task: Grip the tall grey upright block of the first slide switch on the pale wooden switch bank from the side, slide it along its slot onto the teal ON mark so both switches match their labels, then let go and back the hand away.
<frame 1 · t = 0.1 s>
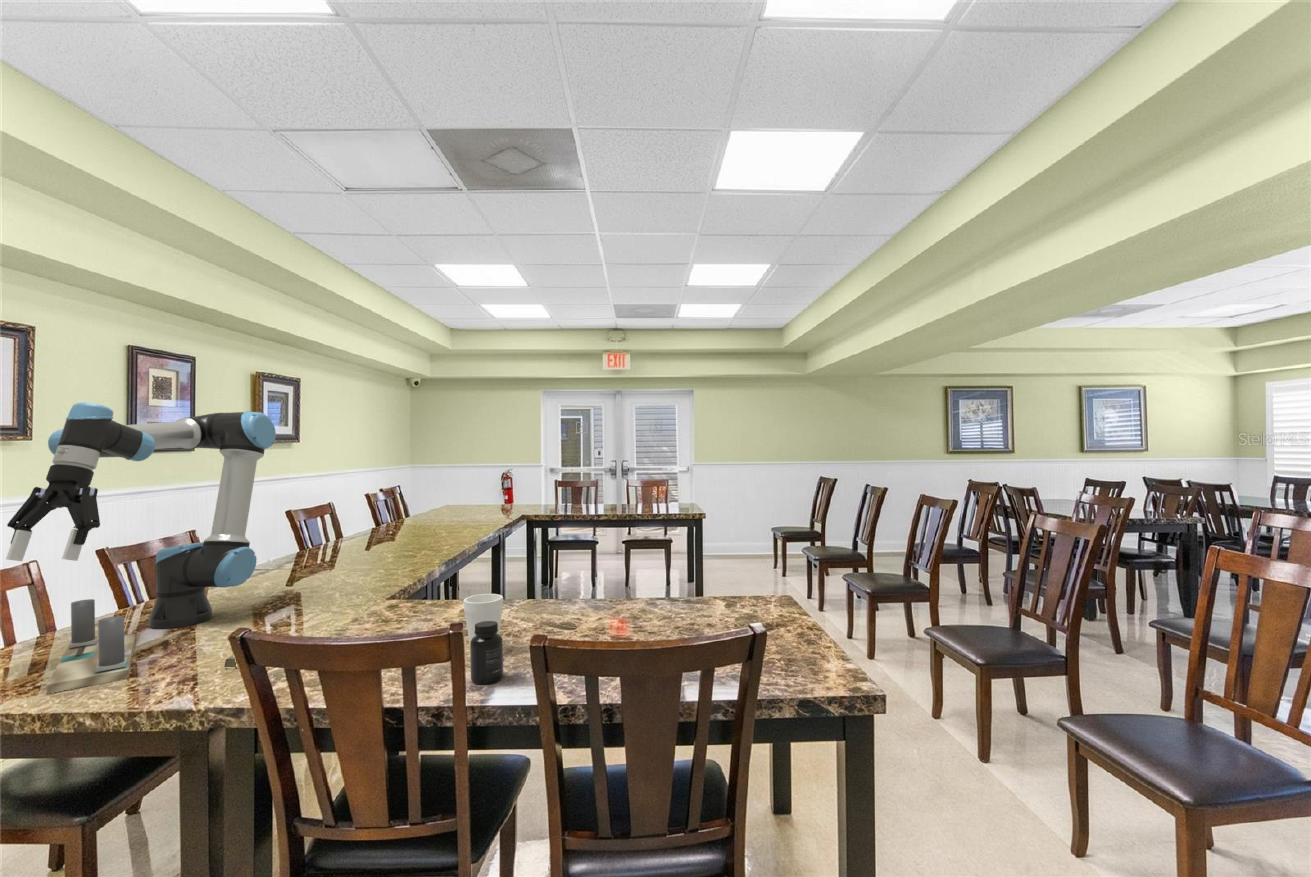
hand: (41, 560, 133), 28 cm above the table, tool tilted 20°, fingers open, 13 cm apart
supplement bottle: (487, 680, 131), on the table
grey upright block 1: (83, 622, 155), point 8 cm above the table, slide at 0.0 cm
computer: (261, 659, 149), on the table
switch bank: (96, 664, 146), on the table
foam cup: (484, 651, 149), on the table
grey tall block 2: (111, 642, 137), point 8 cm above the table, slide at 12.0 cm
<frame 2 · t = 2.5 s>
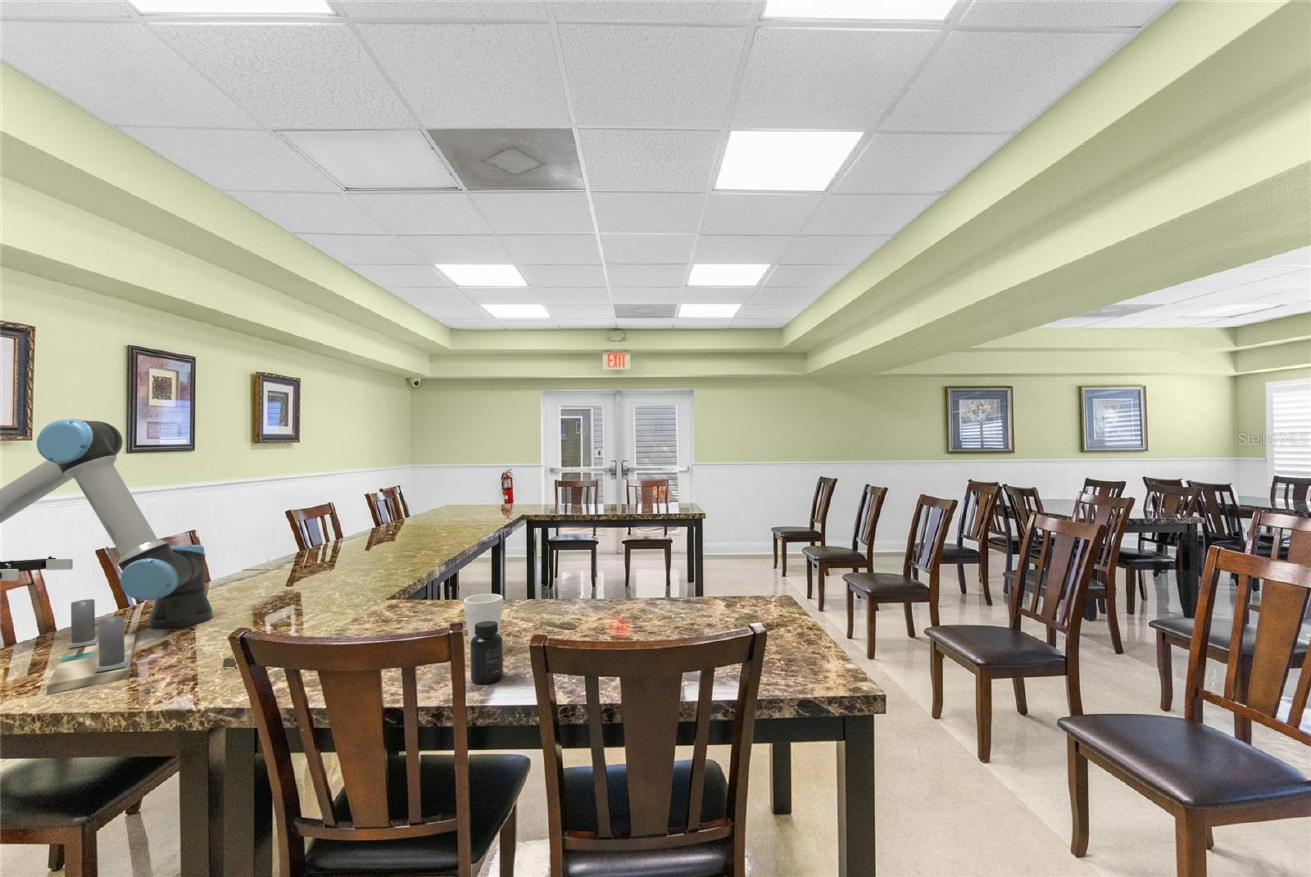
hand: (45, 569, 155), 22 cm above the table, tool horizontal, fingers open, 13 cm apart
nothing on the table moved.
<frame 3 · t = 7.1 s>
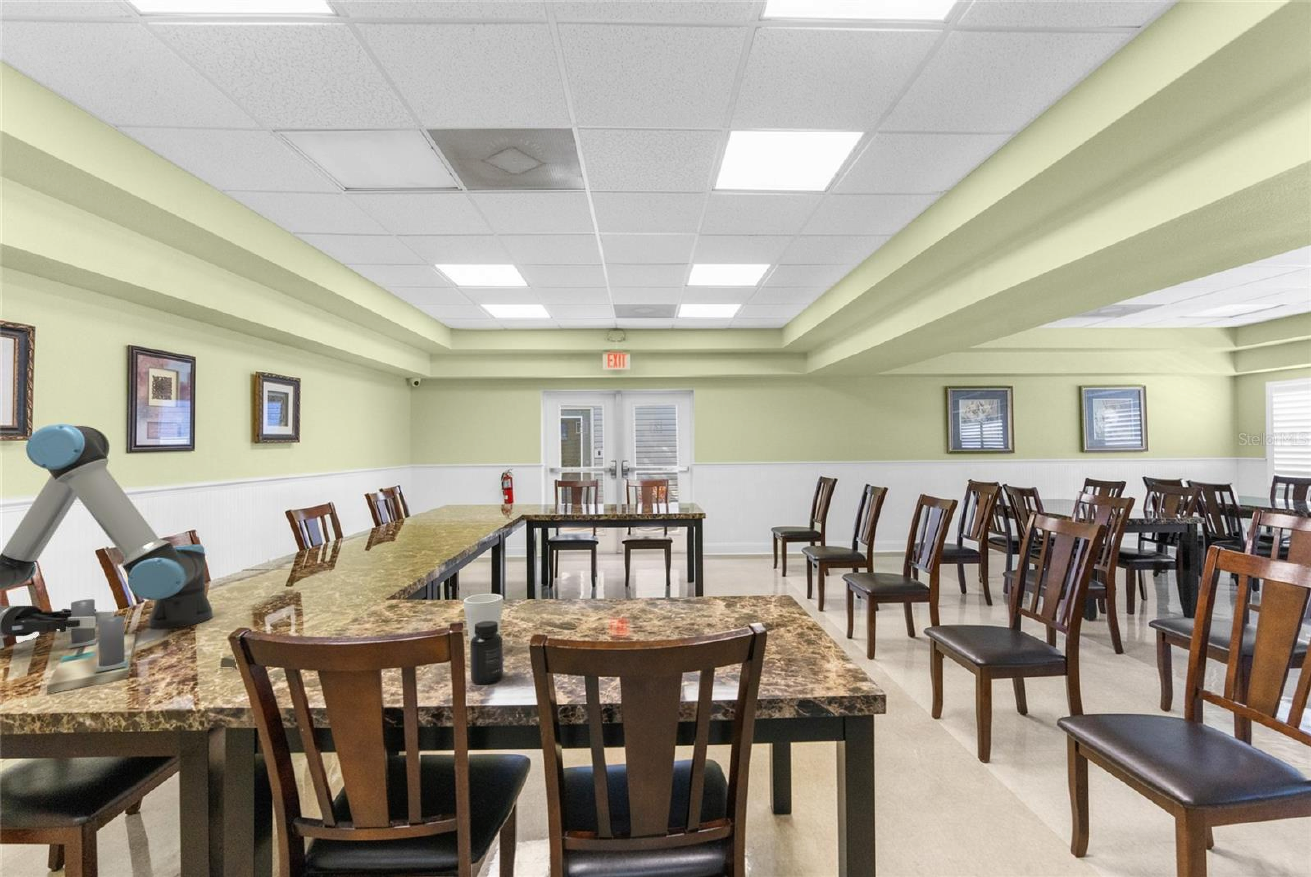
hand: (103, 619, 155), 8 cm above the table, tool horizontal, fingers closed on grey upright block 1, 4 cm apart
grey upright block 1: (83, 622, 155), point 8 cm above the table, slide at 0.0 cm, touching gripper
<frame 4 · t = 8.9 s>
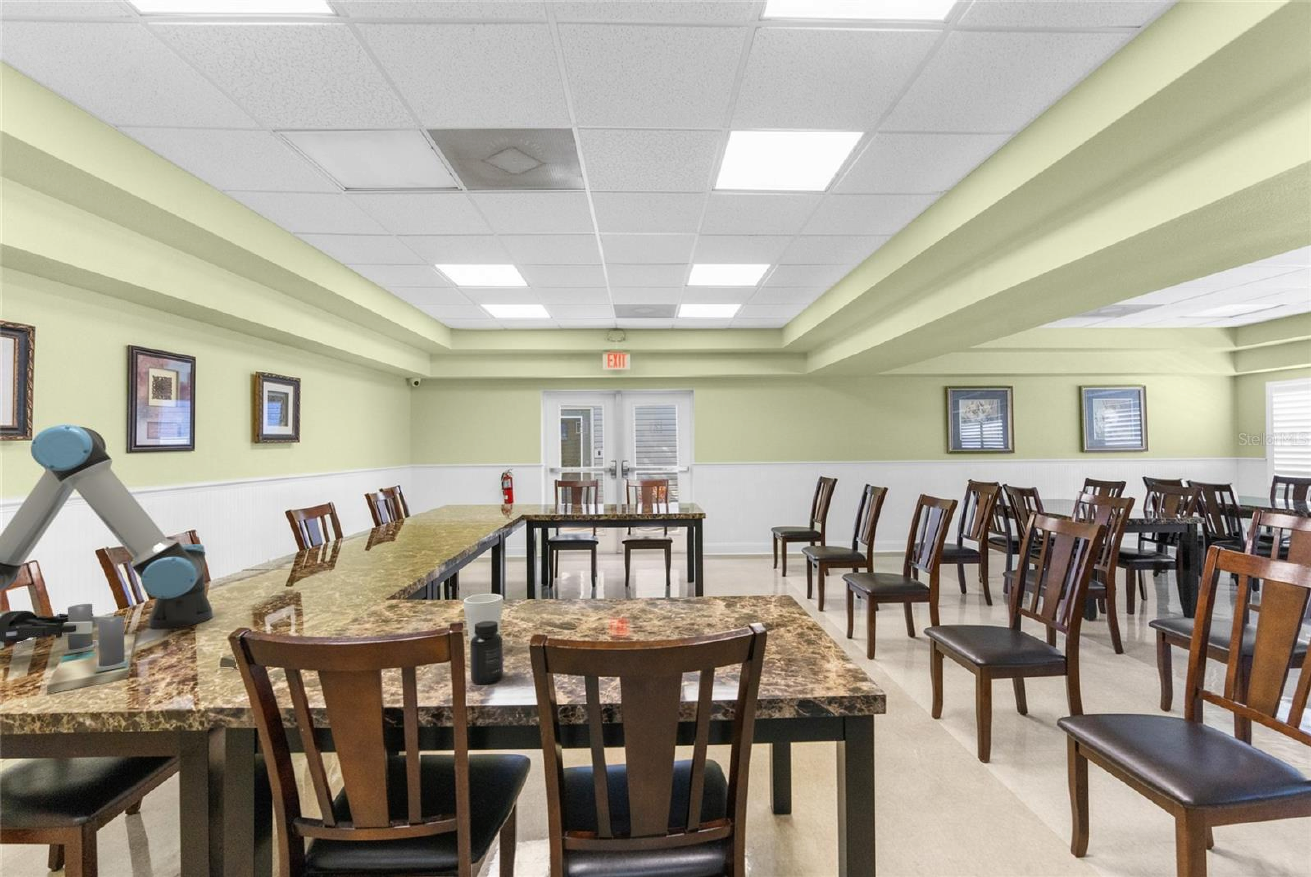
hand: (100, 624, 150), 9 cm above the table, tool horizontal, fingers closed on grey upright block 1, 4 cm apart
grey upright block 1: (80, 627, 150), point 8 cm above the table, slide at 6.3 cm, touching gripper
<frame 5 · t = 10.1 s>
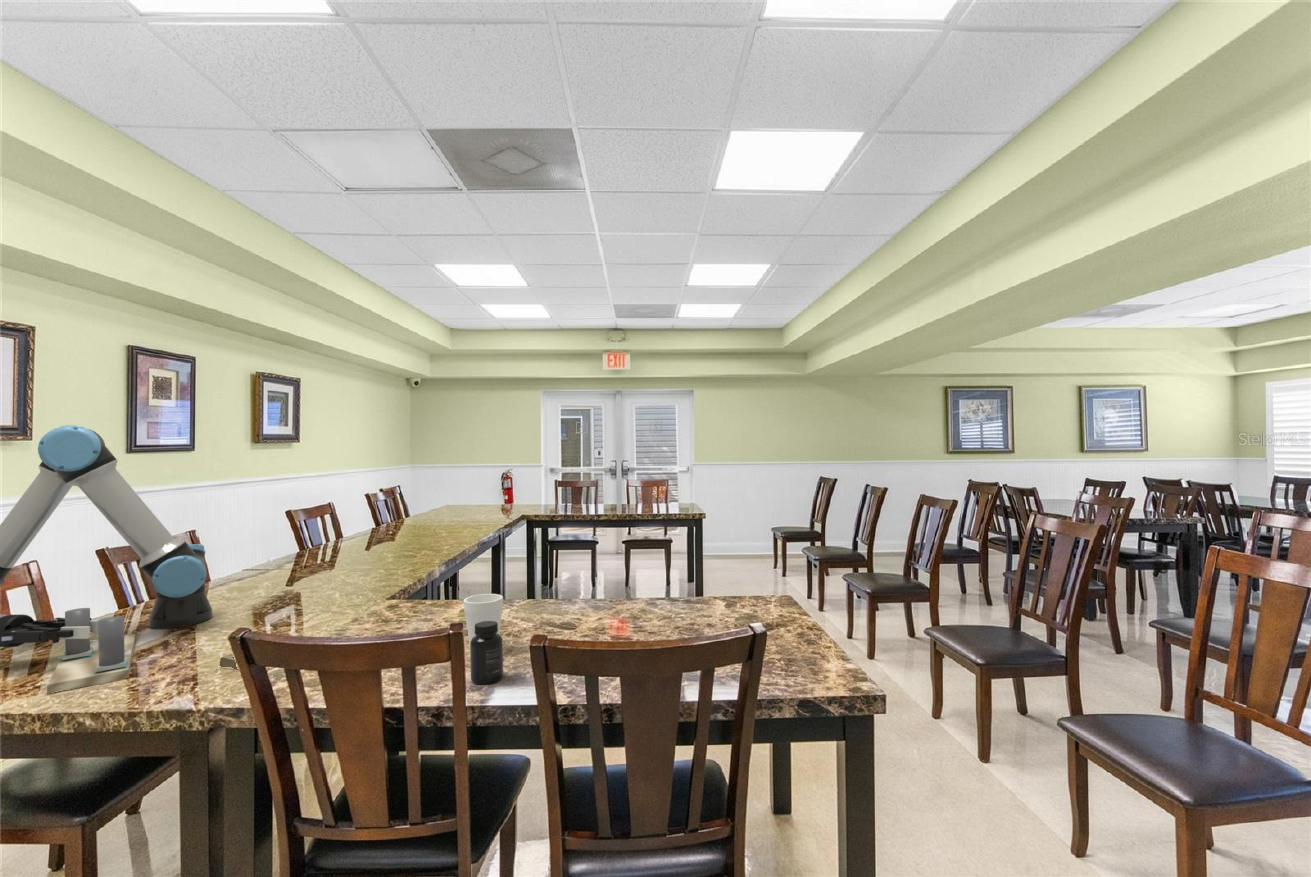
hand: (98, 629, 146), 9 cm above the table, tool horizontal, fingers closed on grey upright block 1, 4 cm apart
grey upright block 1: (77, 632, 146), point 8 cm above the table, slide at 11.5 cm, touching gripper
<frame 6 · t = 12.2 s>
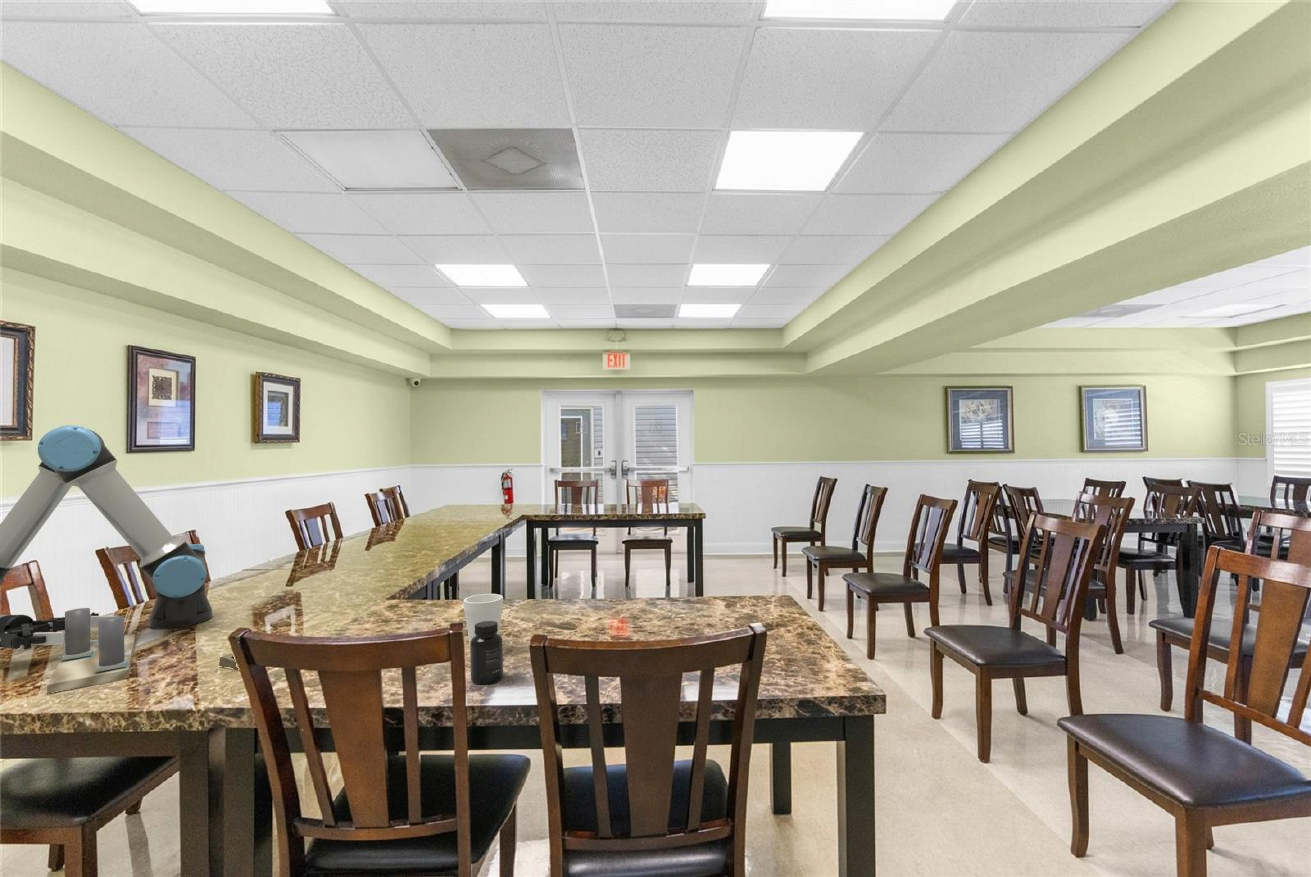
hand: (90, 629, 146), 9 cm above the table, tool horizontal, fingers open, 13 cm apart
grey upright block 1: (77, 632, 146), point 8 cm above the table, slide at 11.6 cm
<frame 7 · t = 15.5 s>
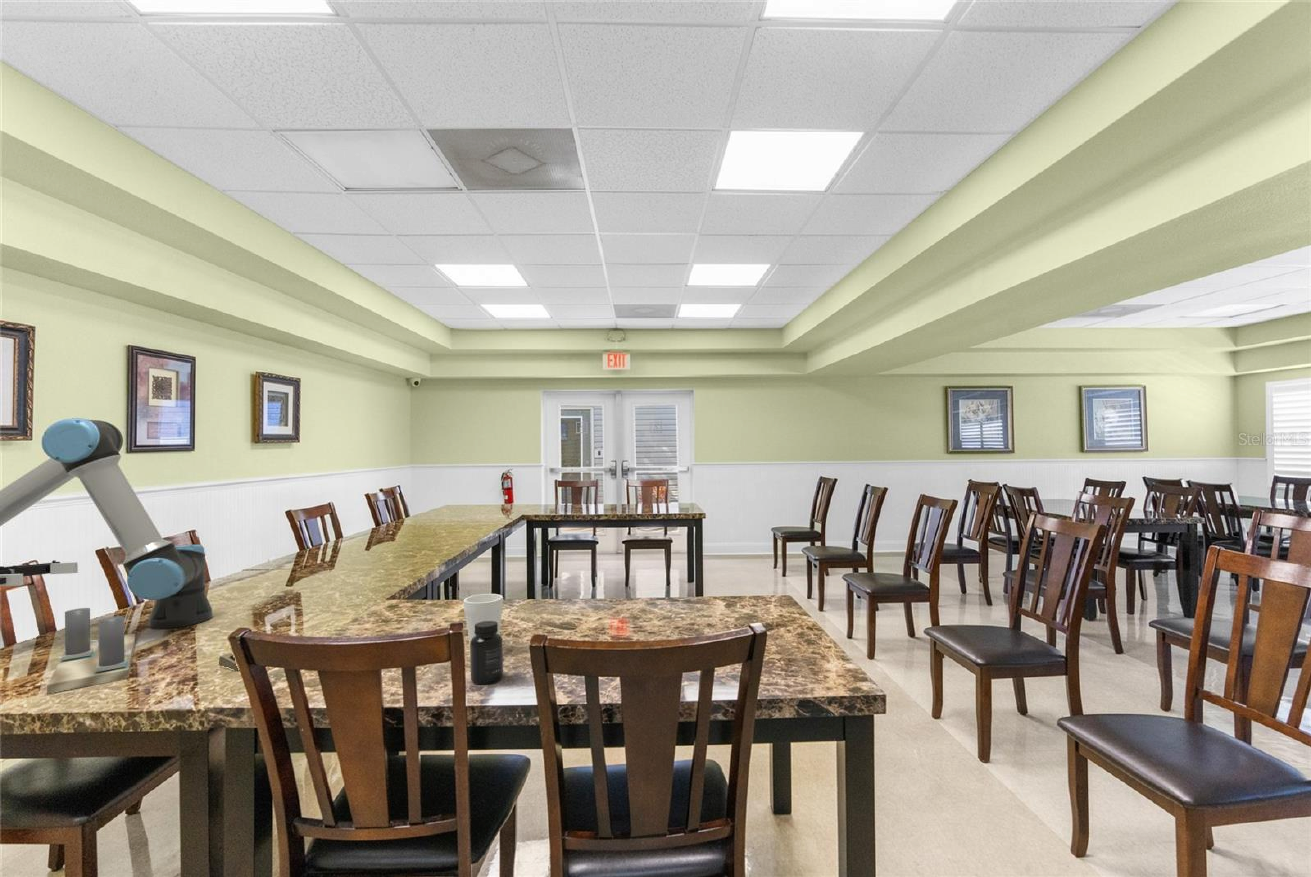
hand: (50, 573, 152), 21 cm above the table, tool horizontal, fingers open, 13 cm apart
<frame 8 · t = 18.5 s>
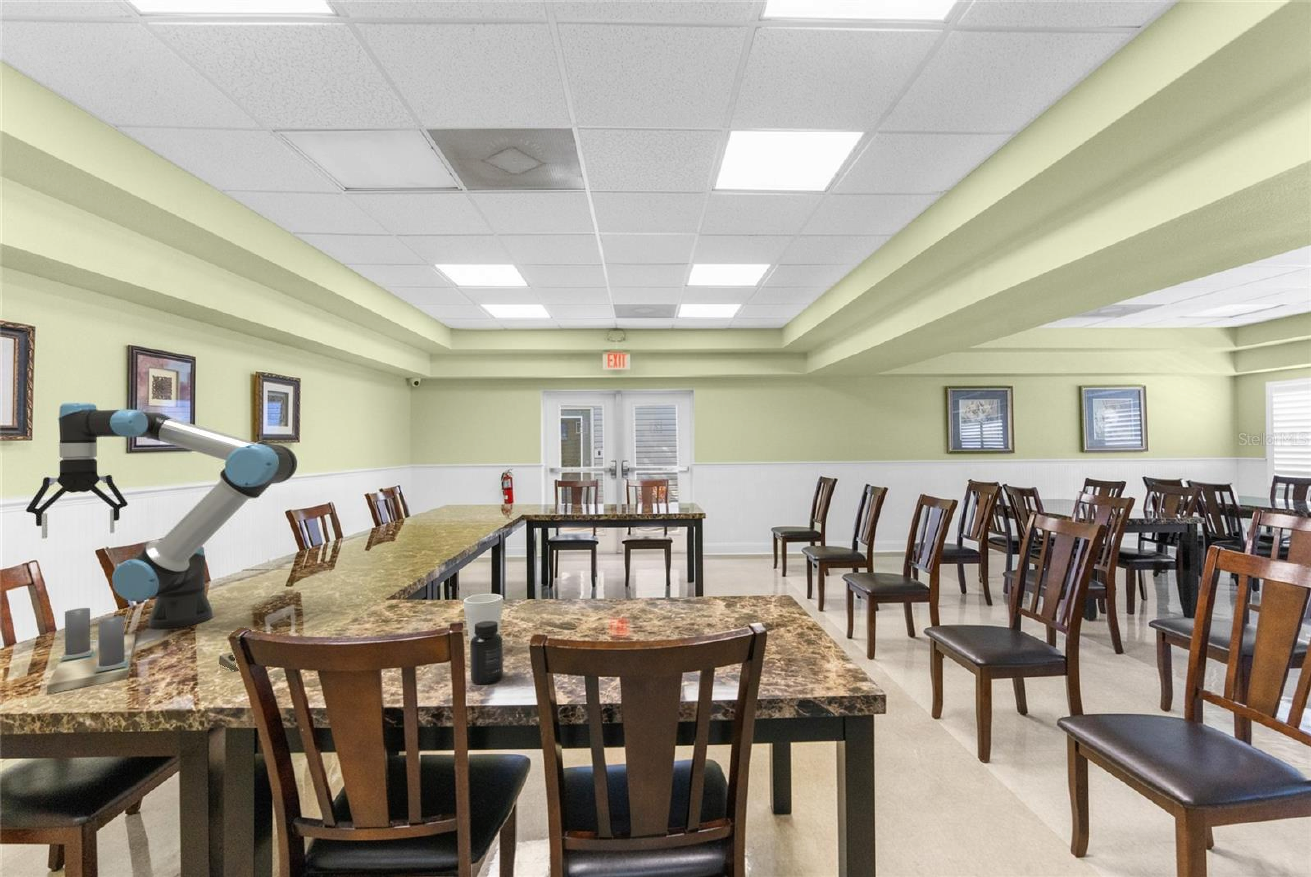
hand: (79, 535, 167), 29 cm above the table, tool pointing down, fingers open, 13 cm apart
at the end: grey upright block 1 slide at 11.6 cm; grey tall block 2 slide at 12.0 cm; the gripper is holding nothing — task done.
